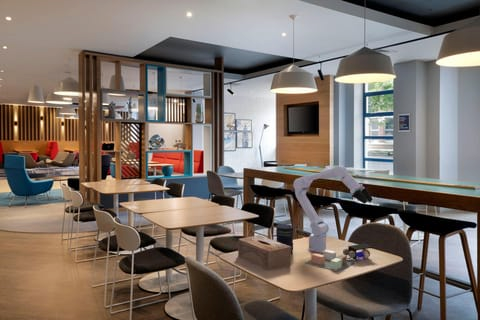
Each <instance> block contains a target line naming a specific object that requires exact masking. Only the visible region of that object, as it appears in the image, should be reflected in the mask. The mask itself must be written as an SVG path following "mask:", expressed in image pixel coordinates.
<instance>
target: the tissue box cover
mask: <svg viewBox="0 0 480 320" xmlns="http://www.w3.org/2000/svg"><path fill="white" fill-rule="evenodd" d="M237 244H238V246H237V247H238V248H237V253H238V254H237V257H238V258H241V259H243V260H245V261H247V262H249V263H251V264H254V266H257V267H259V266H260V268H261V267H262V269H263V268H264V270H265V271H269V272H270V271H273V270H277V269H282V268H286V267H289V266H291V263H292V262H291V259H292V257H291V256H292V254H291V247H290V246H288V245H285V244H282V243H279V242H277V240H273V239H271V238H268V237H267V236H266V237H265V236H263V235H253V236H248V237H247V236H246V237H243V238H238V243H237Z"/></svg>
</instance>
